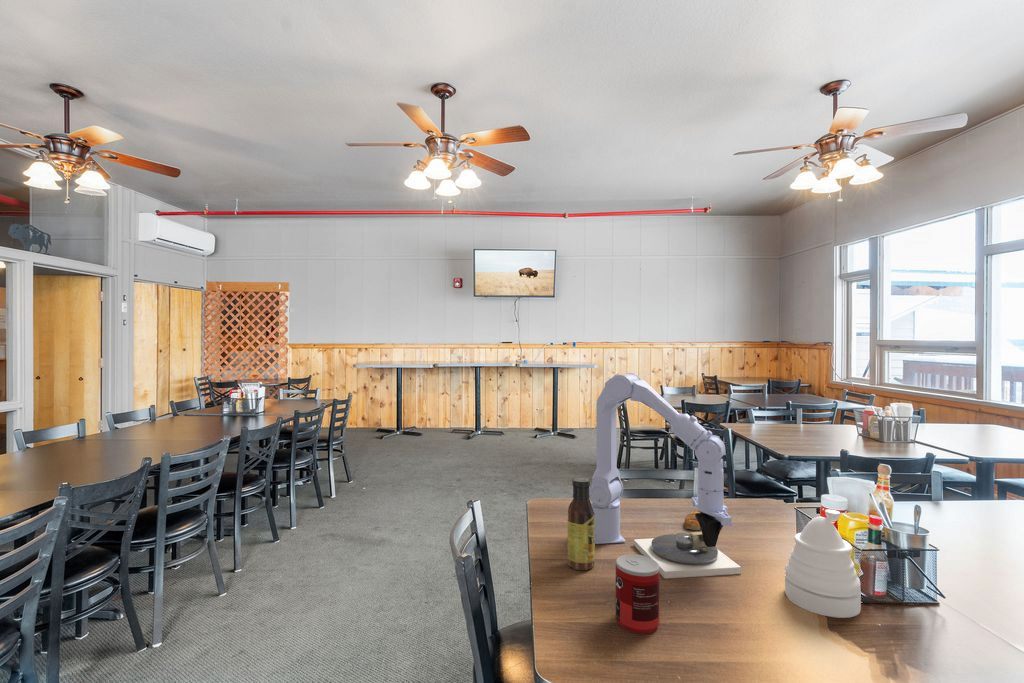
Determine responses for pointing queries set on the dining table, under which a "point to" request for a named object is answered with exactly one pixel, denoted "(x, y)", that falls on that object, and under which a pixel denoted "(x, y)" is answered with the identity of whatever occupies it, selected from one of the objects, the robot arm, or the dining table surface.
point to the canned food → (637, 593)
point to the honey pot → (823, 570)
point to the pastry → (692, 521)
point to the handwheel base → (679, 570)
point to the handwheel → (684, 548)
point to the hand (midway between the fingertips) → (710, 545)
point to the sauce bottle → (581, 527)
